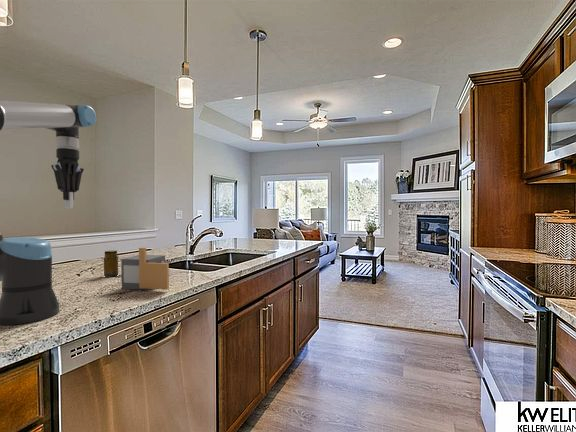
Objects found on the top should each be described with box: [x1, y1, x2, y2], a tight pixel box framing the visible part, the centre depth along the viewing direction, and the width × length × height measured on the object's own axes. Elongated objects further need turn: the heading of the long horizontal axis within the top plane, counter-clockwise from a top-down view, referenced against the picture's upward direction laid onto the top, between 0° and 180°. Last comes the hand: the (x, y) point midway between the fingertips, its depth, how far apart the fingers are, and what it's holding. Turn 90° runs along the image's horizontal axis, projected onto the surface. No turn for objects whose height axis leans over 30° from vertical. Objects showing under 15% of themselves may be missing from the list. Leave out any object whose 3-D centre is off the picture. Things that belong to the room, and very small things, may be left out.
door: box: [138, 247, 170, 290], centre depth 124 cm, size 1×12×16 cm, turn 80°
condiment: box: [103, 250, 122, 278], centre depth 152 cm, size 7×8×12 cm
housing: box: [120, 254, 168, 291], centre depth 132 cm, size 12×14×13 cm
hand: (69, 208), depth 127 cm, fingers closed
